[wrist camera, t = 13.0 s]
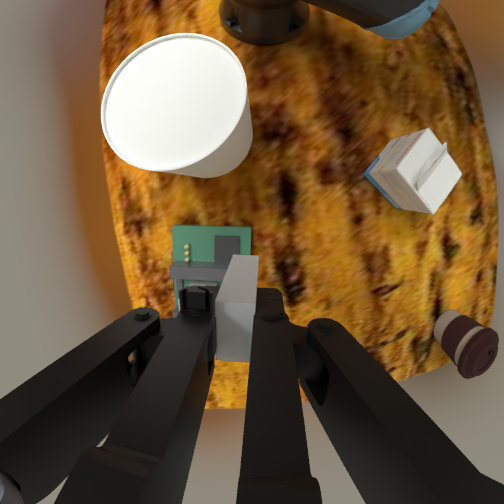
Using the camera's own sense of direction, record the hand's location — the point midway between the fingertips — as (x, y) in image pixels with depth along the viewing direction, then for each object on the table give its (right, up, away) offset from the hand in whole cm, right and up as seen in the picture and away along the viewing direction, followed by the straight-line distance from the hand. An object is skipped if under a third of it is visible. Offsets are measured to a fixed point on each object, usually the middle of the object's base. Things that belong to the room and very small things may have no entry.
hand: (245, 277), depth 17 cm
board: (-6, -2, +28) cm, 29 cm away
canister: (-6, +19, +23) cm, 31 cm away
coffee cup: (+41, -14, +29) cm, 52 cm away
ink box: (+24, +14, +23) cm, 36 cm away
